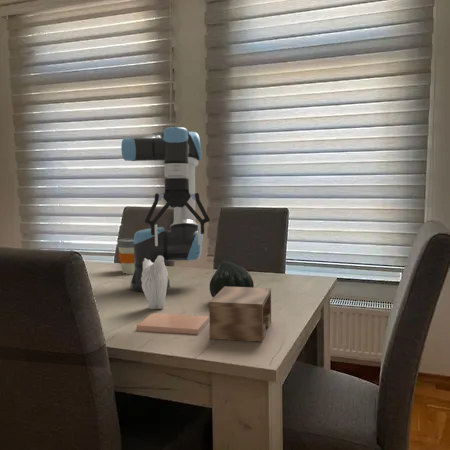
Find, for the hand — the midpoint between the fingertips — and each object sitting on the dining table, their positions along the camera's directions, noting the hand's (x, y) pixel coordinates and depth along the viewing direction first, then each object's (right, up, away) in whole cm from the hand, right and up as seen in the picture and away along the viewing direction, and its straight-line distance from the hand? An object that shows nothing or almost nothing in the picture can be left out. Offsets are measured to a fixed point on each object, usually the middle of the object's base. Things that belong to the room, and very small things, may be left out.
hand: (178, 245), depth 148 cm
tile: (0, -23, -13) cm, 27 cm away
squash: (+17, -20, +12) cm, 29 cm away
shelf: (+20, -23, -17) cm, 35 cm away
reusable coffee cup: (-28, -16, +67) cm, 74 cm away
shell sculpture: (-8, -21, +5) cm, 23 cm away
